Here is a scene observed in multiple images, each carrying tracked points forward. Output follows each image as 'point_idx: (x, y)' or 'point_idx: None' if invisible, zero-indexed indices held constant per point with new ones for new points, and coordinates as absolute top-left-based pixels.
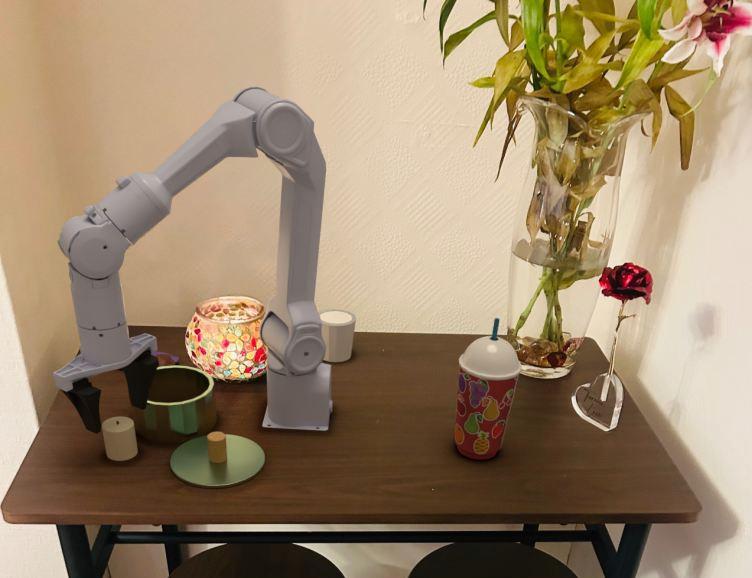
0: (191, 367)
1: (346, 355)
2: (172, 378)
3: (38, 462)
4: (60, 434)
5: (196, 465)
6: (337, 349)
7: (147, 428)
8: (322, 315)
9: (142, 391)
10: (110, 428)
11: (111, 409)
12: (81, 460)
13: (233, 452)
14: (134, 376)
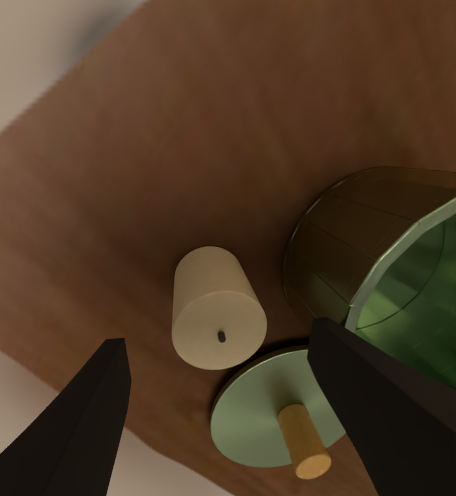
0: None
1: None
2: None
3: (35, 139)
4: (173, 57)
5: (255, 410)
6: None
7: (295, 295)
8: None
9: (349, 429)
10: (188, 338)
11: (359, 73)
12: (132, 223)
13: (319, 415)
14: (405, 471)
